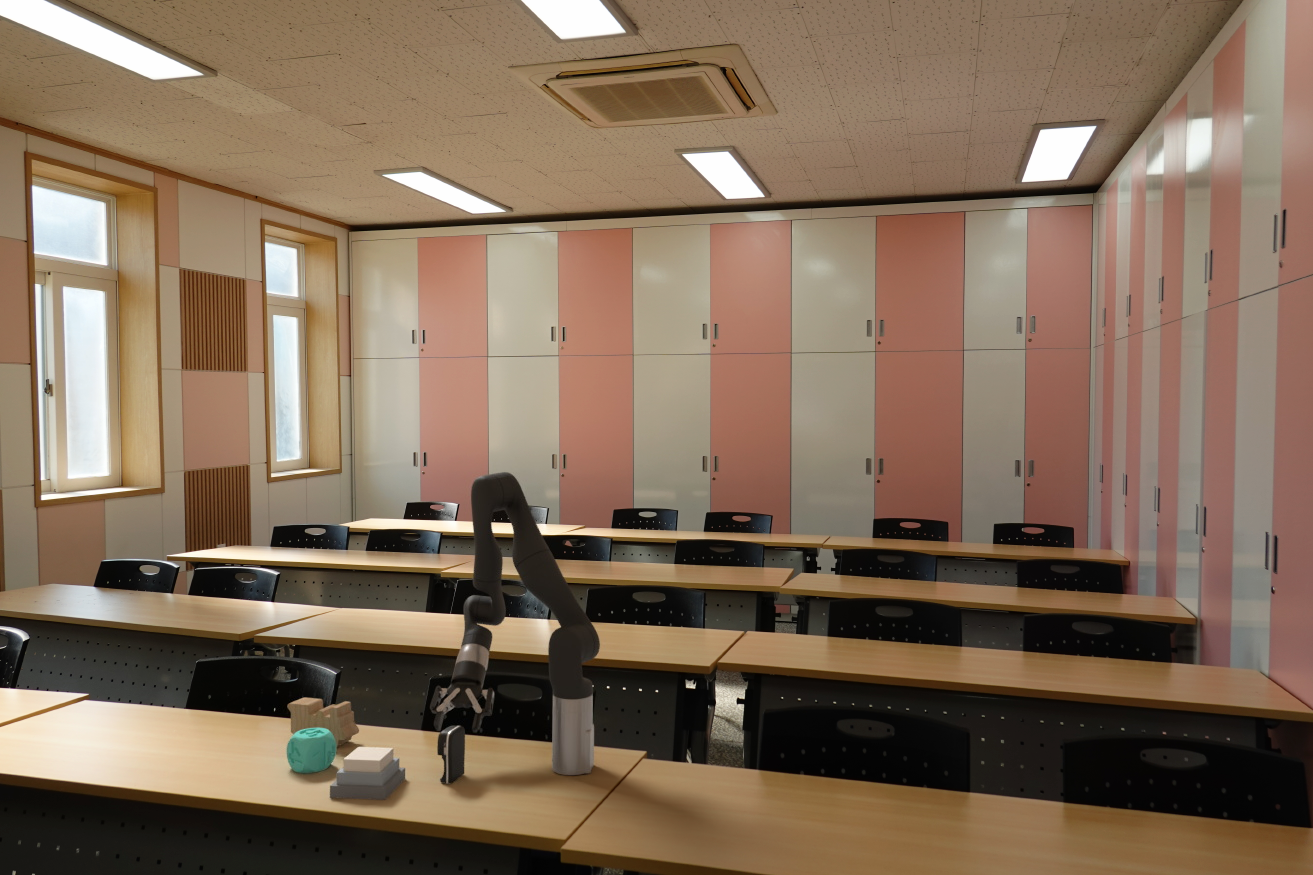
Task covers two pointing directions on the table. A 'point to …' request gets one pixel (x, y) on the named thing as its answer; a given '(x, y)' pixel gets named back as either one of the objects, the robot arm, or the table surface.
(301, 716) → the toy train
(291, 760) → the decorative dice
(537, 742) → the table surface
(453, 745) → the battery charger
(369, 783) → the block tower
